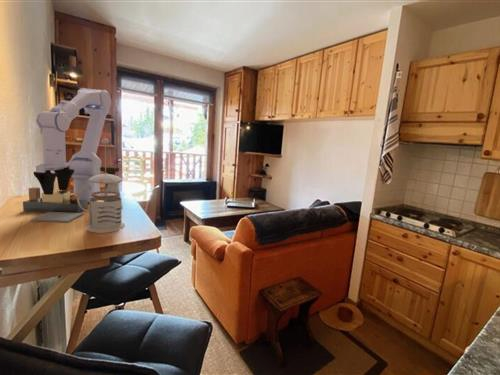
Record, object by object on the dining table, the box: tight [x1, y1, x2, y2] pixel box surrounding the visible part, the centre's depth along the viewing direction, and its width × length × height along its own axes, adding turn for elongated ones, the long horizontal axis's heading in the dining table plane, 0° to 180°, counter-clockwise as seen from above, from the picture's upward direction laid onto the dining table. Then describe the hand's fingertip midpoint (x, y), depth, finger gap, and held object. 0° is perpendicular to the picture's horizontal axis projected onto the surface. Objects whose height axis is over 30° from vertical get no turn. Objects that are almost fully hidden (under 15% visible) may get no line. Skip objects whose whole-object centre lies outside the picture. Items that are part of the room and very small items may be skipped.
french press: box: [77, 138, 126, 234], centre depth 69 cm, size 10×12×25 cm
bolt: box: [100, 165, 120, 189], centre depth 88 cm, size 6×5×15 cm
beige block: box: [41, 190, 71, 203], centre depth 82 cm, size 4×6×3 cm
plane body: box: [22, 186, 89, 213], centre depth 82 cm, size 6×16×7 cm, turn 97°
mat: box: [30, 212, 84, 223], centre depth 75 cm, size 8×10×1 cm
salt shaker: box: [102, 175, 123, 218], centre depth 81 cm, size 6×6×13 cm
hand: (56, 192), depth 81 cm, fingers open, 7 cm apart
